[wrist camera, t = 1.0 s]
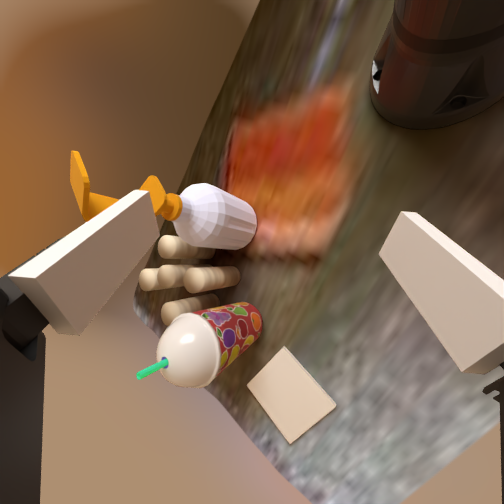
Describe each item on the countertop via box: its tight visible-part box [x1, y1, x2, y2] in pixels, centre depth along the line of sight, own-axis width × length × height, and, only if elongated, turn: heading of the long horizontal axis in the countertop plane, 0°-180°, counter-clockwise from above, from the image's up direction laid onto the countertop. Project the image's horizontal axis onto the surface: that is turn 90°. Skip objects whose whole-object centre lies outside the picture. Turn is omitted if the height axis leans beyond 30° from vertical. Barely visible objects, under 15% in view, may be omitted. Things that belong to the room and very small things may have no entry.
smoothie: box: [137, 302, 263, 388], centre depth 27 cm, size 8×8×20 cm
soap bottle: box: [70, 151, 257, 250], centre depth 27 cm, size 9×9×25 cm
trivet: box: [247, 346, 336, 444], centre depth 32 cm, size 10×10×1 cm
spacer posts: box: [139, 235, 241, 326], centre depth 36 cm, size 11×11×10 cm
